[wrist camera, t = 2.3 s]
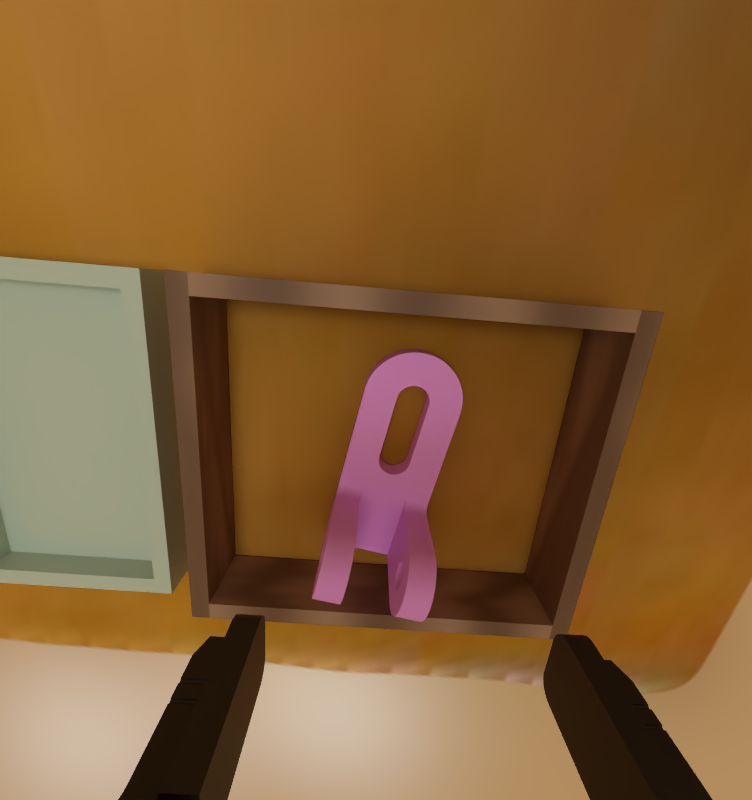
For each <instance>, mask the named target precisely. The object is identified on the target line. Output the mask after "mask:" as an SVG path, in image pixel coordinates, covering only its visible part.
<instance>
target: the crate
mask: <svg viewBox="0 0 752 800" xmlns="http://www.w3.org/2000/svg"><path fill="white" fill-rule="evenodd" d="M164 277H165V289H166V301H167V313H168V326H169V338H170V350H171V362H172V374H173V386H174V399H175V411H176V423H177V435H178V447H179V460H180V472H181V484H182V496H183V508H184V520H185V533H186V545H187V557H188V569H189V581H190V593H191V606H192V617H208V618H224V619H233V618H234V616H235V615H236V614H248V615H264V616H265V621H272V622H288V623H304V624H320V625H336V626H352V627H368V628H384V629H400V630H416V631H432V632H448V633H464V634H480V635H496V636H512V637H528V638H544V639H554V637H555V636H556V635H557V634H568V630H569V627H570V624H571V620H572V617H573V614H574V610H575V607H576V604H577V600H578V597H579V594H580V590H581V587H582V584H583V580H584V577H585V574H586V570H587V567H588V564H589V560H590V557H591V554H592V550H593V547H594V544H595V540H596V537H597V534H598V530H599V527H600V524H601V520H602V517H603V514H604V510H605V507H606V504H607V500H608V497H609V494H610V490H611V487H612V484H613V480H614V477H615V474H616V470H617V467H618V464H619V460H620V457H621V454H622V450H623V447H624V444H625V440H626V437H627V434H628V430H629V427H630V424H631V420H632V417H633V414H634V411H635V407H636V404H637V401H638V397H639V394H640V391H641V387H642V384H643V381H644V377H645V374H646V371H647V367H648V364H649V361H650V357H651V354H652V351H653V347H654V344H655V341H656V337H657V334H658V331H659V327H660V324H661V321H662V317H663V314H664V312H656V311H645V310H633V309H621V308H609V307H597V306H586V305H574V304H562V303H550V302H538V301H527V300H515V299H503V298H491V297H479V296H467V295H456V294H444V293H432V292H420V291H408V290H397V289H385V288H373V287H361V286H349V285H338V284H326V283H314V282H302V281H290V280H279V279H267V278H255V277H243V276H231V275H220V274H208V273H196V272H184V271H172V270H164ZM226 299H232V300H245V301H257V302H269V303H281V304H293V305H305V306H317V307H329V308H341V309H353V310H365V311H377V312H389V313H401V314H413V315H425V316H437V317H449V318H461V319H473V320H485V321H497V322H509V323H521V324H533V325H545V326H557V327H569V328H581V329H585V330H584V334H583V338H582V343H581V347H580V351H579V355H578V359H577V363H576V367H575V371H574V376H573V380H572V384H571V388H570V392H569V396H568V400H567V404H566V409H565V413H564V417H563V421H562V425H561V429H560V433H559V437H558V442H557V446H556V450H555V454H554V458H553V462H552V466H551V470H550V475H549V479H548V483H547V487H546V491H545V495H544V499H543V503H542V508H541V512H540V516H539V520H538V524H537V528H536V532H535V536H534V541H533V545H532V549H531V553H530V557H529V561H528V565H527V569H526V574H512V573H497V572H482V571H467V570H452V569H437V575H436V586H435V593H434V598H433V602H432V605H431V608H430V611H429V613H428V616H427V617H426V619H425V620H424V621H423V622H418V621H414V620H409V619H404V618H400V617H395V616H392V614H391V611H390V603H389V582H388V565H377V564H362V563H352V566H351V571H350V575H349V579H348V583H347V587H346V590H345V594H344V597H343V600H342V602H341V604H340V605H339V604H334V603H330V602H325V601H320V600H316V599H312V593H313V588H314V583H315V579H316V574H317V569H318V565H319V561H317V560H302V559H286V558H271V557H256V556H241V555H235V534H234V506H233V479H232V452H231V425H230V397H229V370H228V343H227V316H226Z"/></svg>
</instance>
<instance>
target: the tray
mask: <svg viewBox="0 0 752 800" xmlns="http://www.w3.org/2000/svg"><path fill="white" fill-rule="evenodd" d="M187 571H188V557H187V545H186V533H185V520H184V508H183V496H182V484H181V472H180V460H179V447H178V435H177V423H176V411H175V399H174V386H173V374H172V362H171V350H170V338H169V326H168V313H167V301H166V289H165V277H164V271H158V270H149V269H141V268H129V267H118V266H106V265H94V264H82V263H70V262H58V261H47V260H35V259H23V258H11V257H0V583H15V584H30V585H46V586H61V587H77V588H93V589H108V590H124V591H140V592H155V593H171V594H172V593H173V591H174V590H175V588H176V587H177V585H178V584H179V582H180V581H181V579H182V578H183V576H184V575H185V573H186V572H187Z"/></svg>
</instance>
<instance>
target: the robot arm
mask: <svg viewBox="0 0 752 800" xmlns="http://www.w3.org/2000/svg"><path fill="white" fill-rule="evenodd" d="M264 664H265V616H264V615H248V614H236V615H235V616H234V618H233V620H232V622H231V624H230V627H229V629H228V631H227V633H226V636H225V637H214V636H210V637H209V638H208V639H207V640H206V641H205V643H204V644H203V645H202V646H201V647H200V648H199V649H198V650H197V651H196V652H195V653H194V654H193V655H192V657H191V659H190V661H189V663H188V665H187V667H186V669H185V671H184V673H183V675H182V677H181V681H180V683H178V685H177V687H176V689H175V691H174V693H173V695H172V697H171V701H170V703H169V704H168V705H167V707H166V709H165V711H164V713H163V715H162V717H161V719H160V721H159V723H158V725H157V727H156V729H155V731H154V733H153V735H152V737H151V739H150V741H149V743H148V745H147V747H146V749H145V751H144V753H143V755H142V757H141V759H140V761H139V763H138V765H137V767H136V769H135V771H134V773H133V775H132V777H131V779H130V781H129V782H128V785H127V786H126V788H125V790H124V792H123V793H122V795H121V796H120V798H119V799H118V800H227V799H228V796H229V792H230V789H231V785H232V782H233V778H234V775H235V771H236V768H237V764H238V761H239V757H240V754H241V751H242V747H243V744H244V740H245V737H246V733H247V730H248V726H249V723H250V719H251V716H252V713H253V709H254V706H255V702H256V699H257V695H258V692H259V688H260V685H261V681H262V676H263V671H264ZM543 681H544V689H545V694H546V698H547V701H548V703H549V706H550V708H551V710H552V713H553V715H554V717H555V719H556V722H557V724H558V726H559V729H560V731H561V733H562V736H563V738H564V740H565V743H566V745H567V747H568V750H569V752H570V754H571V757H572V759H573V761H574V763H575V766H576V768H577V770H578V773H579V775H580V777H581V780H582V782H583V784H584V787H585V789H586V791H587V793H588V796H589V798H590V800H712V798H711V797H710V795H709V794H708V792H707V791H706V789H705V788H704V786H703V785H702V783H701V782H700V781H699V779H698V778H697V776H696V775H695V773H694V772H693V770H692V769H691V767H690V766H689V764H688V763H687V761H686V760H685V758H684V757H683V755H682V754H681V753H680V751H679V749H678V748H677V747H676V745H675V744H674V742H673V741H672V739H671V738H670V737H669V735H668V733H667V732H666V731H664V730H663V728H662V724H661V723H660V721H659V720H658V719H657V717H656V715H655V714H654V713H653V711H652V710H650V709H649V707H648V704H647V702H646V701H645V699H644V698H643V696H642V695H641V693H640V692H639V690H638V689H637V687H636V686H635V684H634V683H633V681H632V680H631V679H630V678H629V677H628V676H627V675H626V674H624V673H623V672H622V671H621V670H620V669H619V668H618V667H617V666H616V665H615V664H614V663H613V662H612V661H611V660H604V659H603V658H602V656H601V655H600V653H599V651H598V650H597V648H596V647H595V645H594V644H593V642H592V641H591V640H590V639H589V638H588V637H587V636H584V635H567V634H557V635H556V636H555V637H554V640H553V643H552V647H551V650H550V654H549V657H548V661H547V664H546V668H545V671H544V678H543Z"/></svg>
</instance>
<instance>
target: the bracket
mask: <svg viewBox="0 0 752 800" xmlns="http://www.w3.org/2000/svg"><path fill="white" fill-rule="evenodd" d="M409 386H418V387H421V388H422V389H424V390H425V391H426V395H427V396H426V401H425V404H424V407H423V410H422V413H421V416H420V419H419V422H418V425H417V429H416V432H415V435H414V438H413V441H412V444H411V447H410V450H409V453H408V456H407V458H406V459H405V461H403V462H402V463H400V464H398V465H389V464H386V463H385V462H383V461H382V460H381V458H380V453H381V449H382V446H383V443H384V439H385V436H386V433H387V429H388V426H389V423H390V420H391V416H392V413H393V410H394V406H395V403H396V400H397V397H398V394H399V393H400V392H401V391H402V390H403V389H404V388H406V387H409ZM462 404H463V393H462V388H461V384H460V382H459V379H458V378H457V376H456V374H455V373H454V371H453V370H452V369H451V368H450V367H449V366H448V365H447V364H446V363H445V362H444V361H443V360H442V359H441V358H439V357H438V356H436V355H434V354H432V353H430V352H427V351H424V350H418V349H406V350H401V351H397V352H394V353H392V354H390V355H388V356H386V357H385V358H383V359H382V360H381V361H380V362H378V363H377V364H376V366H375V367H374V368H373V369H372V371H371V372H370V374H369V376H368V378H367V381H366V384H365V387H364V391H363V395H362V398H361V402H360V406H359V409H358V413H357V417H356V420H355V424H354V428H353V432H352V435H351V439H350V443H349V446H348V450H347V454H346V457H345V461H344V465H343V468H342V472H341V476H340V479H339V483H338V487H337V490H336V494H335V498H334V501H333V505H332V509H331V512H330V516H329V520H328V523H327V527H326V531H325V536H324V541H323V546H322V550H321V555H320V560H319V565H318V569H317V574H316V579H315V583H314V588H313V593H312V599H316V600H320V601H325V602H330V603H334V604H339V605H340V604H341V602H342V600H343V597H344V594H345V590H346V587H347V583H348V579H349V575H350V571H351V566H352V561H353V556H354V551H355V548H360V549H364V550H368V551H373V552H377V553H381V554H386V555H387V560H388V582H389V603H390V611H391V614H392V616H395V617H400V618H404V619H409V620H414V621H418V622H423V621H424V620H425V619H426V617H427V616H428V613H429V611H430V608H431V605H432V602H433V598H434V593H435V586H436V575H437V563H436V555H435V550H434V546H433V541H432V537H431V533H430V528H429V524H428V520H427V515H426V512H427V506H428V503H429V500H430V497H431V494H432V491H433V489H434V486H435V483H436V480H437V478H438V475H439V472H440V469H441V466H442V464H443V461H444V458H445V455H446V452H447V450H448V447H449V444H450V441H451V438H452V436H453V433H454V430H455V427H456V424H457V422H458V419H459V416H460V413H461V410H462Z"/></svg>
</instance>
